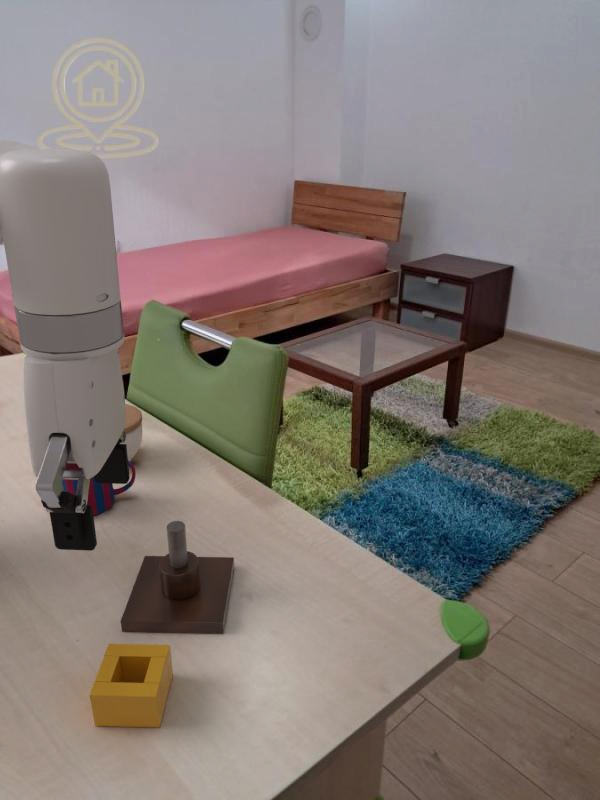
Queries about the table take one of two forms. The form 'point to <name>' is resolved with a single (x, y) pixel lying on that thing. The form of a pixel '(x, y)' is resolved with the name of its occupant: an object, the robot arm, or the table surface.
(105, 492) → the mug
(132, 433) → the trinket box
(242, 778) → the table surface
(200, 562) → the stand
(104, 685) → the yellow block
